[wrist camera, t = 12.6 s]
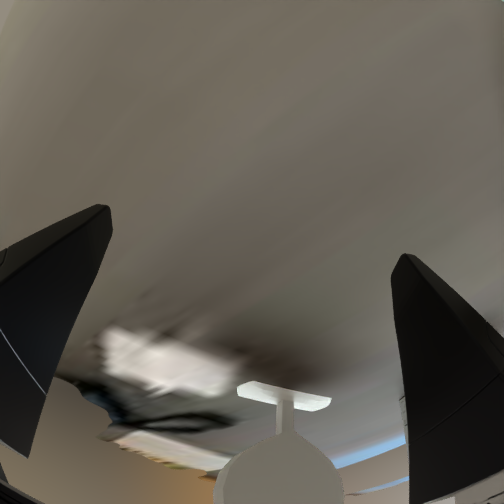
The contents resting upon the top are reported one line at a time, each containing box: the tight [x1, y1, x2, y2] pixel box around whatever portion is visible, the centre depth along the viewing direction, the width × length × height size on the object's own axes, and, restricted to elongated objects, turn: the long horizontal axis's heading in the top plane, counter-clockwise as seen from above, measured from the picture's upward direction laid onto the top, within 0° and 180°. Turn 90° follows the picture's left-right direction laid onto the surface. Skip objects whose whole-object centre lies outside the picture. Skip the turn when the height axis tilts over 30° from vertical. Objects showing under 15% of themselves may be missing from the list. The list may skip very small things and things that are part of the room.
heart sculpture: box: [213, 381, 345, 504], centre depth 32 cm, size 16×5×18 cm, turn 67°
